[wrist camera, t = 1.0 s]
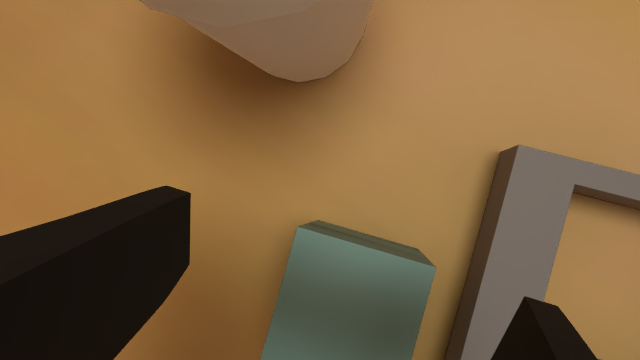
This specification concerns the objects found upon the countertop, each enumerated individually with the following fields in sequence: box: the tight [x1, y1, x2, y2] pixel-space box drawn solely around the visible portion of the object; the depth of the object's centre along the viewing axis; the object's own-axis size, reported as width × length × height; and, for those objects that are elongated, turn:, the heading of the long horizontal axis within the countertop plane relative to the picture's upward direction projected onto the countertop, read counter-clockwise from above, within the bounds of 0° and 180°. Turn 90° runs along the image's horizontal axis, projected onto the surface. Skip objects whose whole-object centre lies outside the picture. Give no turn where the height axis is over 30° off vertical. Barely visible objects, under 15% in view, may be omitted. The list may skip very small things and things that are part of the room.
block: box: [260, 220, 436, 360], centre depth 18 cm, size 5×5×6 cm
